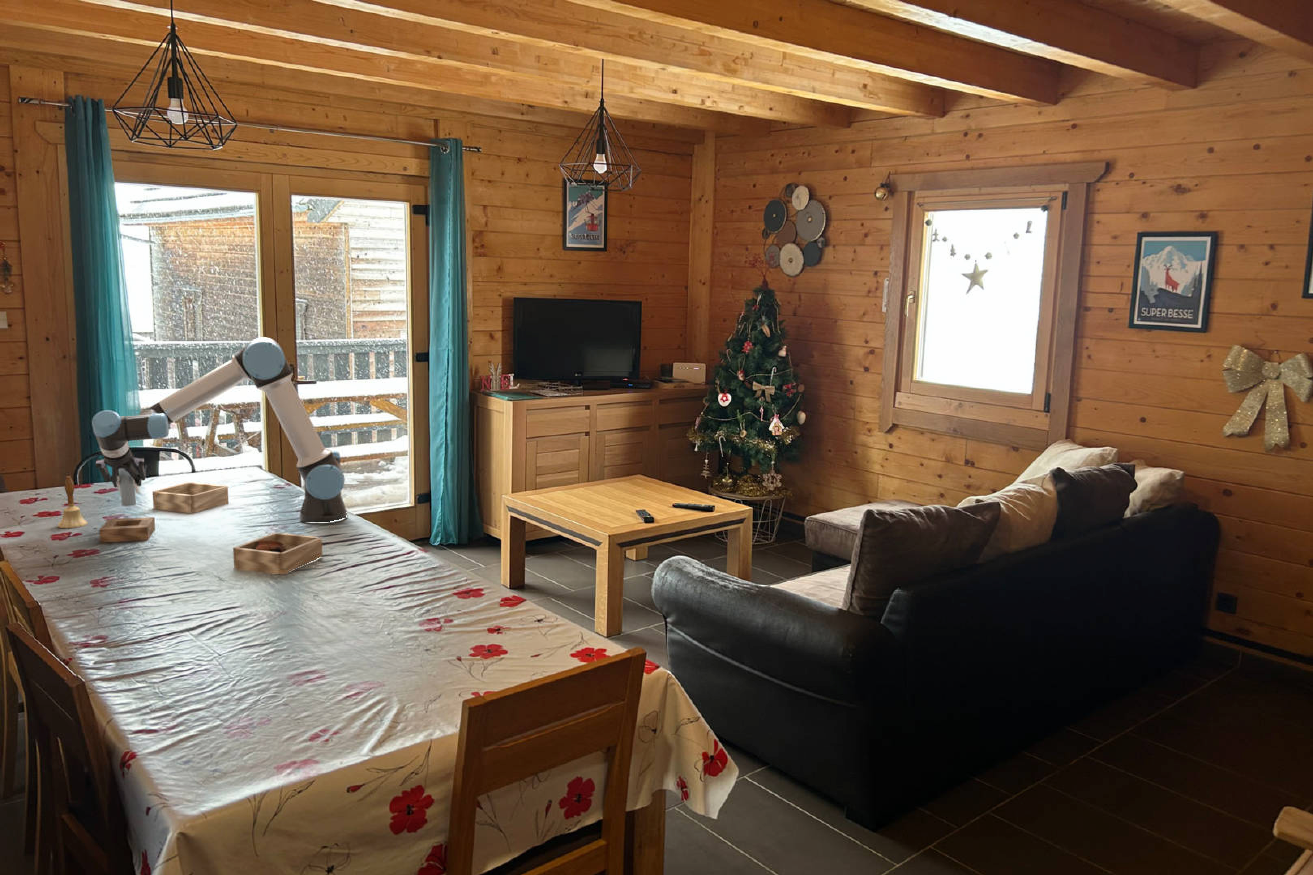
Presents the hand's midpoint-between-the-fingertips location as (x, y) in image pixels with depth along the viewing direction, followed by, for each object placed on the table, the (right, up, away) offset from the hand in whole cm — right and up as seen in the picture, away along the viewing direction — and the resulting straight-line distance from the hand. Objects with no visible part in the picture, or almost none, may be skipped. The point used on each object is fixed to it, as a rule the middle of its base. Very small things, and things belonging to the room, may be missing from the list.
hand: (130, 490), depth 312 cm
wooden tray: (+7, -7, +28) cm, 29 cm away
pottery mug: (+61, -19, -38) cm, 75 cm away
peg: (+1, -4, -3) cm, 5 cm away
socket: (+6, -13, -12) cm, 19 cm away
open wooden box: (+63, -19, -37) cm, 75 cm away
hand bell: (-18, -11, -1) cm, 21 cm away
